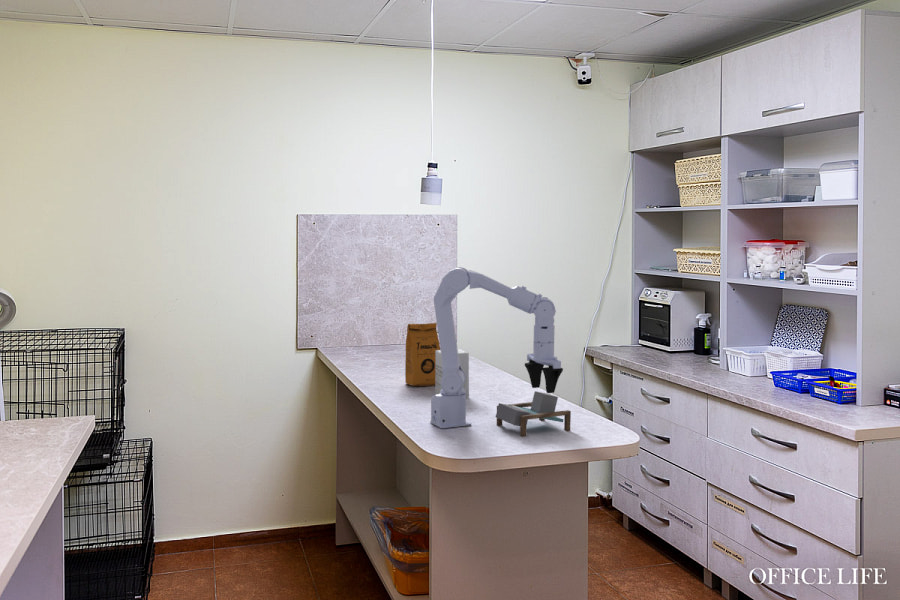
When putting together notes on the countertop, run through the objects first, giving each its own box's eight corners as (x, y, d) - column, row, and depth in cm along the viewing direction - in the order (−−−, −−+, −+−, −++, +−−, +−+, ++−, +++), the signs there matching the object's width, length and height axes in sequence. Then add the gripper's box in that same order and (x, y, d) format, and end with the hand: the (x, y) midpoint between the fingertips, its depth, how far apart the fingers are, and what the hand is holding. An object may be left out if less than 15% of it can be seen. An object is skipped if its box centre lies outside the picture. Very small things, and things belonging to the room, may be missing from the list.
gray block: (538, 413, 218) (543, 394, 218) (530, 410, 222) (534, 391, 222) (553, 416, 220) (558, 397, 220) (544, 412, 224) (549, 393, 224)
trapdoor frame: (522, 436, 211) (522, 416, 210) (496, 424, 223) (496, 405, 223) (570, 430, 217) (570, 411, 217) (542, 419, 230) (542, 400, 229)
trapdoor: (514, 425, 211) (518, 410, 211) (494, 416, 221) (497, 402, 221) (560, 433, 218) (563, 419, 218) (539, 424, 228) (542, 410, 228)
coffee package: (444, 386, 277) (444, 324, 275) (409, 388, 273) (409, 325, 271) (436, 381, 286) (436, 320, 284) (403, 383, 283) (403, 321, 281)
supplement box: (460, 392, 267) (460, 348, 266) (469, 398, 259) (469, 352, 257) (434, 394, 264) (434, 349, 263) (442, 399, 256) (443, 353, 254)
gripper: (570, 344, 215) (569, 393, 216) (542, 337, 228) (541, 384, 229) (548, 345, 212) (547, 396, 213) (520, 339, 225) (520, 386, 226)
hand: (543, 390), depth 221 cm, fingers open, 7 cm apart
